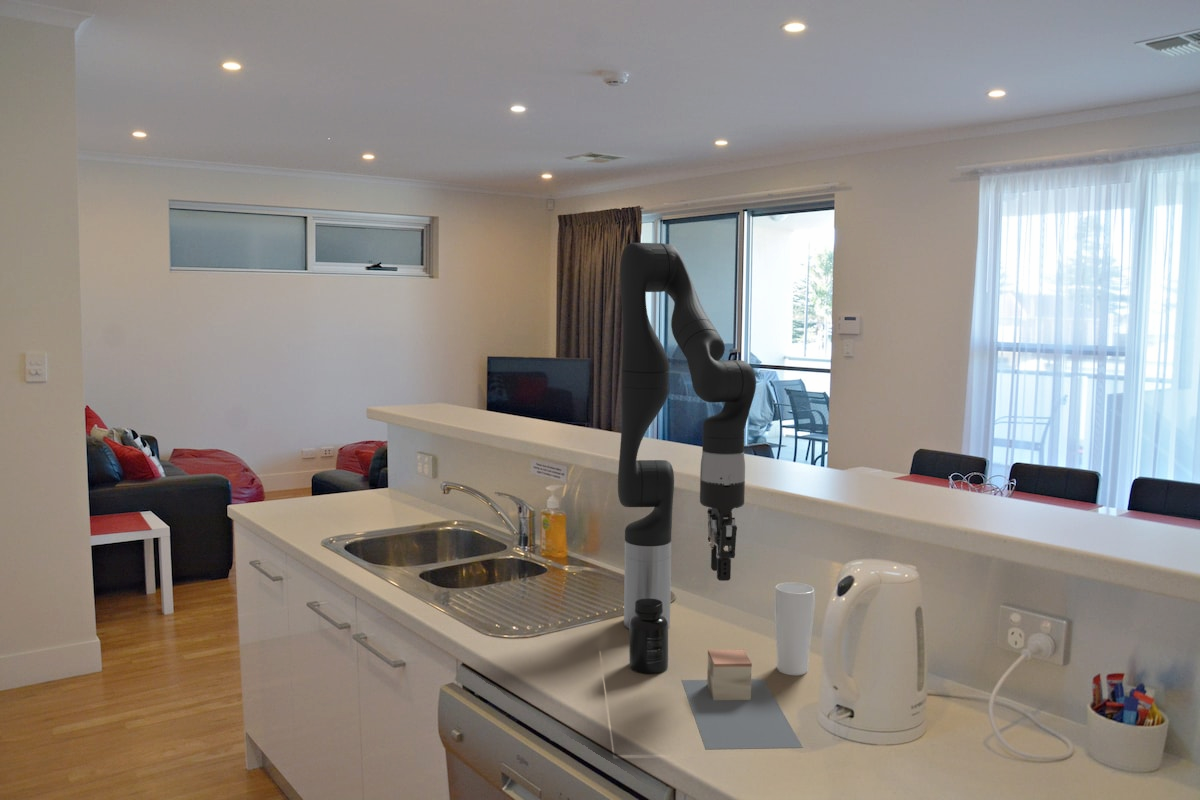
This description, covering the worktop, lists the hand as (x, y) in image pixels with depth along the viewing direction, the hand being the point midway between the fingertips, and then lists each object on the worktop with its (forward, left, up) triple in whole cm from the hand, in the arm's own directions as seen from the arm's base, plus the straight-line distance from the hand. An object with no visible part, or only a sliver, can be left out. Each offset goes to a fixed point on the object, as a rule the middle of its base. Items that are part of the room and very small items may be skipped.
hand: (720, 574), depth 153 cm
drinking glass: (0, +13, -18) cm, 22 cm away
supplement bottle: (-2, -12, -18) cm, 21 cm away
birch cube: (+9, 0, -17) cm, 19 cm away
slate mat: (+16, 0, -17) cm, 24 cm away
